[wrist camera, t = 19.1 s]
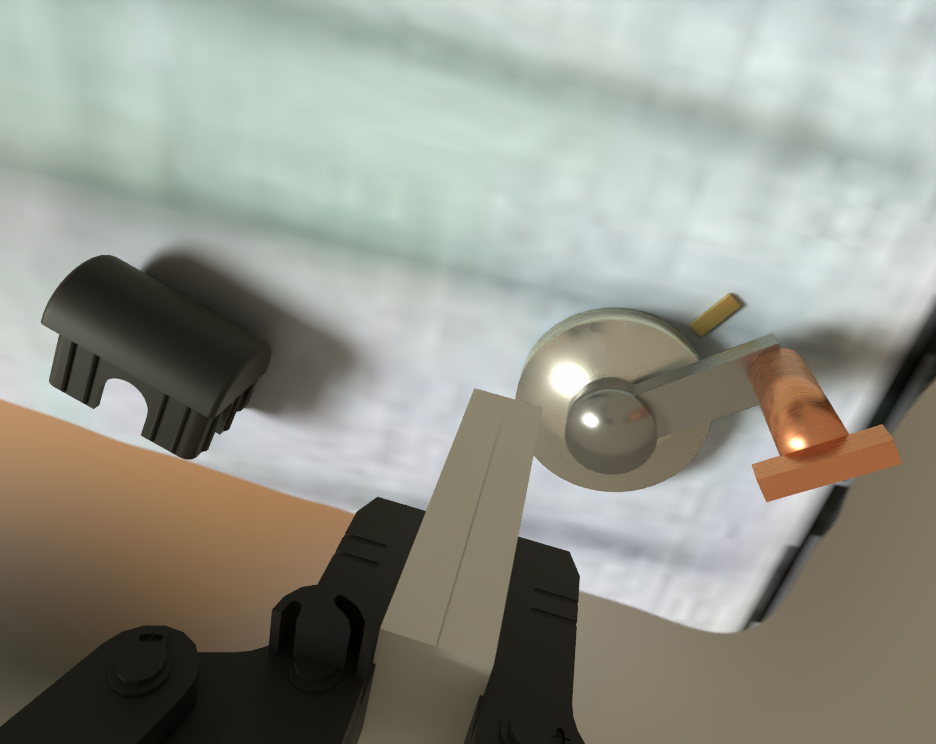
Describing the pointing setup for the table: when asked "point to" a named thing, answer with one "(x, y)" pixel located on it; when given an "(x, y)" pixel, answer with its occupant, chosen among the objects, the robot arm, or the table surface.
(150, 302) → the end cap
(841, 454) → the crank
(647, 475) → the crank housing
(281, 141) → the table surface
